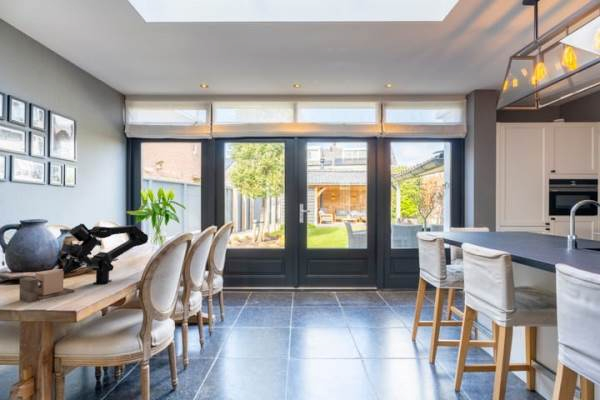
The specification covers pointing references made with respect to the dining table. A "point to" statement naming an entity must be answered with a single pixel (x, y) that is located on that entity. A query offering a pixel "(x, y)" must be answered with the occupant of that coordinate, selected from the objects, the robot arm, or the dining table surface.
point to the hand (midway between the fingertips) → (61, 275)
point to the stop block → (36, 291)
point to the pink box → (50, 281)
